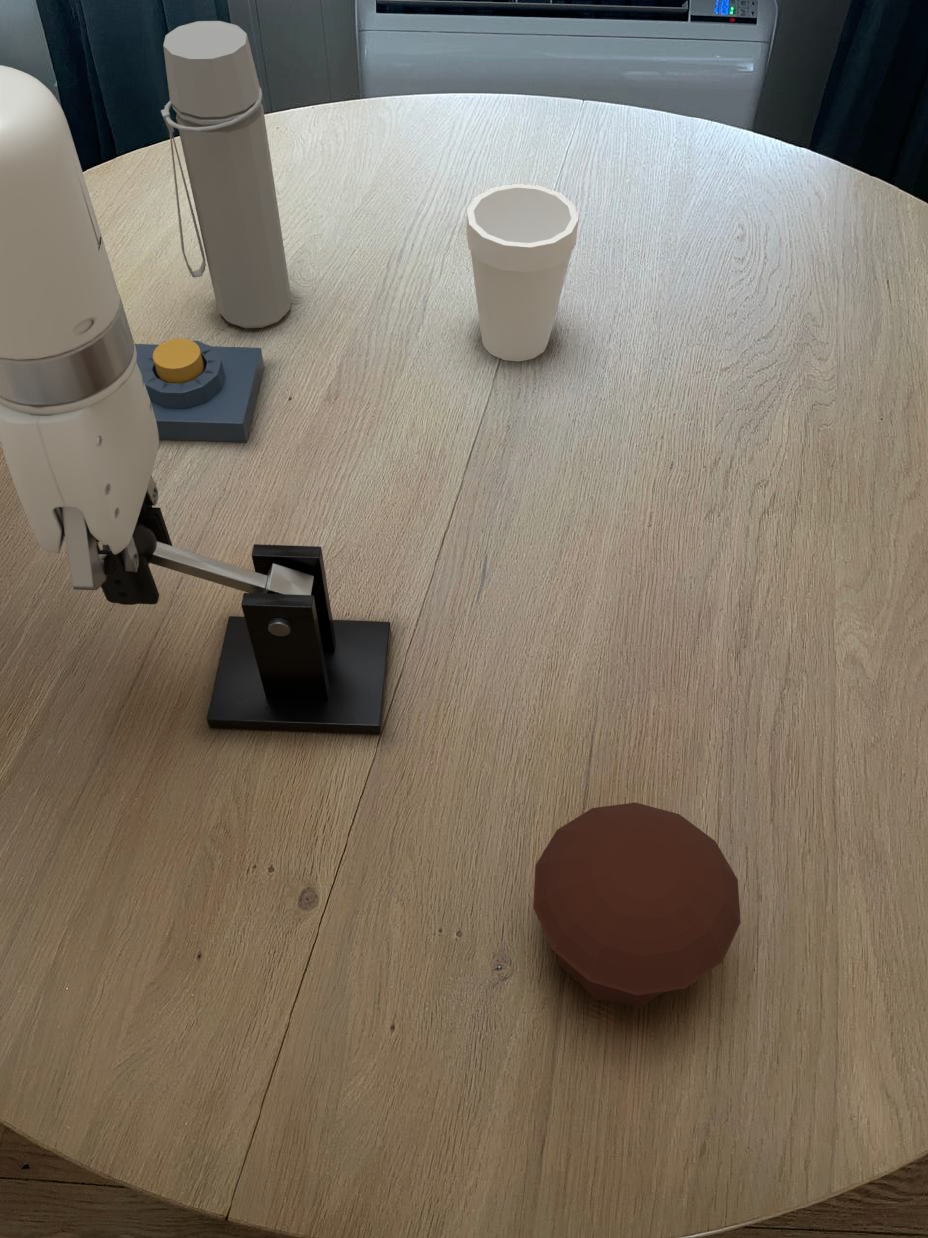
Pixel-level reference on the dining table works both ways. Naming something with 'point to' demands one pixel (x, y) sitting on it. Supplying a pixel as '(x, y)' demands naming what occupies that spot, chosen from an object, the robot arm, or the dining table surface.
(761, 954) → the dining table surface
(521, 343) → the foam cup
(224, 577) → the tap lever
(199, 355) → the button
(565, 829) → the muffin
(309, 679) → the bracket
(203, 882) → the dining table surface
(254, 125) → the water bottle
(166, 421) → the button housing
